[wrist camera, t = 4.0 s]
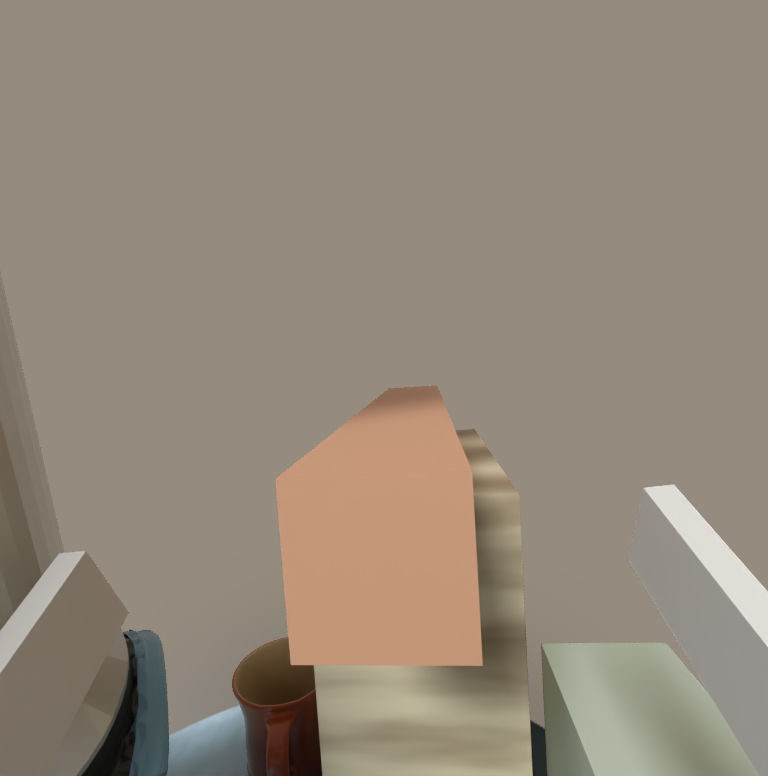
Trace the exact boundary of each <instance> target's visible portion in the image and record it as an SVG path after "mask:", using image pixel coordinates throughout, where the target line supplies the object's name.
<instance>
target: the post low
mask: <svg viewBox="0 0 768 776" xmlns="http://www.w3.org/2000/svg"><path fill="white" fill-rule="evenodd" d="M541 648H542V670H543V693H544V714H545V737H546V758H547V776H759V775H758V773H757V771H756V770H755V768H754V767H753V765H752V763H751V762H750V760H749V758H748V757H747V755H746V753H745V752H744V750H743V748H742V747H741V745H740V744H739V742H738V740H737V739H736V737H735V735H734V734H733V732H732V730H731V729H730V727H729V725H728V724H727V722H726V721H725V719H724V717H723V716H722V714H721V712H720V711H719V709H718V707H717V706H716V704H715V703H714V701H713V699H712V698H711V696H710V695H709V694H708V692H707V691H706V690H705V689H704V688H703V686H702V685H701V684H700V683H699V682H698V681H697V679H696V678H695V677H694V676H693V675H692V674H691V672H690V671H689V670H688V669H687V667H686V666H685V665H684V664H683V663H682V662H681V660H680V659H679V658H678V657H677V656H676V655H675V653H674V652H673V651H672V650H671V649H670V647H669V646H668V645H667V644H666V643H541Z"/></svg>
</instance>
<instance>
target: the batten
mask: <svg viewBox="0 0 768 776" xmlns="http://www.w3.org/2000/svg"><path fill="white" fill-rule="evenodd" d="M276 491H277V503H278V514H279V528H280V540H281V552H282V564H283V576H284V589H285V601H286V612H287V624H288V638H289V650H290V662H291V665H414V666H483V660H482V642H481V624H480V605H479V587H478V568H477V550H476V532H475V513H474V495H473V477H472V469H471V467H470V465H469V462H468V460H467V457H466V455H465V453H464V450H463V448H462V445H461V443H460V440H459V438H458V436H457V433H456V431H455V428H454V426H453V424H452V421H451V419H450V416H449V414H448V412H447V409H446V407H445V404H444V402H443V400H442V397H441V395H440V392H439V390H438V387H437V386H423V387H405V388H389V389H388V390H387V391H385V392H384V393H383V394H382V395H380V396H379V397H378V398H377V399H375V400H374V401H373V402H372V403H370V404H369V405H368V406H367V407H366V408H364V409H363V410H362V411H361V412H359V413H358V414H357V415H355V416H354V417H353V418H352V419H350V420H349V421H348V422H346V423H345V424H344V425H343V426H341V427H340V428H339V429H338V430H337V431H335V432H334V433H333V434H331V435H330V436H329V437H328V438H326V439H325V440H324V441H323V442H321V443H320V444H319V445H318V446H316V448H314V449H313V450H311V451H310V452H309V453H308V454H306V455H305V456H304V457H303V458H301V459H300V460H299V461H298V462H296V463H295V464H294V465H293V466H291V467H290V468H289V469H288V470H286V471H285V472H284V473H282V474H281V475H280V476H279V477H278V478H276Z"/></svg>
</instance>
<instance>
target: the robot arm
mask: <svg viewBox="0 0 768 776" xmlns="http://www.w3.org/2000/svg"><path fill="white" fill-rule="evenodd" d="M628 561H629V563H630V565H631V566H632V568H633V570H634V571H635V573H636V574H637V576H638V578H639V579H640V581H641V582H642V584H643V586H644V588H645V589H646V591H647V593H648V594H649V596H650V597H651V599H652V601H653V602H654V604H655V606H656V607H657V609H658V611H659V612H660V614H661V616H662V617H663V619H664V620H665V622H666V624H667V625H668V627H669V629H670V630H671V632H672V634H673V635H674V637H675V638H676V640H677V642H678V643H679V645H680V647H681V648H682V650H683V652H684V653H685V655H686V657H687V658H688V660H689V661H690V663H691V665H692V666H693V668H694V670H695V671H696V673H697V675H698V676H699V678H700V679H701V681H702V683H703V684H704V686H705V688H706V689H707V691H708V693H709V694H710V696H711V698H712V699H713V701H714V703H715V704H716V706H717V707H718V709H719V711H720V712H721V714H722V716H723V717H724V719H725V721H726V722H727V724H728V725H729V727H730V729H731V730H732V732H733V734H734V735H735V737H736V739H737V740H738V742H739V744H740V745H741V747H742V748H743V750H744V752H745V753H746V755H747V757H748V758H749V760H750V762H751V763H752V765H753V767H754V768H755V770H756V771H757V773H758V775H759V776H768V592H767V590H766V589H765V588H764V587H763V586H762V585H761V584H760V582H759V581H758V580H757V579H756V578H755V577H754V576H753V574H752V573H751V572H750V571H749V570H748V569H747V568H746V566H745V565H744V564H743V563H742V562H741V561H740V560H739V558H738V557H737V556H736V555H735V554H734V553H733V551H731V550H730V548H729V547H728V546H727V545H726V543H725V542H724V541H723V540H722V539H721V538H720V537H719V536H718V534H716V532H715V531H714V530H713V529H712V528H711V526H710V525H709V524H708V523H707V522H706V521H705V520H704V518H703V517H702V516H701V515H700V514H699V513H698V512H697V510H696V509H695V508H694V507H693V506H692V505H691V504H690V502H689V501H688V500H687V499H686V498H685V497H684V496H683V494H682V493H681V492H680V491H679V490H678V489H677V488H676V486H675V485H666V486H657V487H648V488H644V489H643V492H642V497H641V501H640V506H639V510H638V514H637V519H636V523H635V528H634V532H633V536H632V541H631V545H630V550H629V554H628ZM128 613H129V612H128V611H127V609H126V608H125V606H124V605H123V603H122V602H121V600H120V599H119V597H118V596H117V595H116V593H115V592H114V590H113V589H112V587H111V586H110V584H109V583H108V582H107V580H106V579H105V577H104V576H103V574H102V573H101V571H100V570H99V569H98V567H97V566H96V564H95V563H94V561H93V560H92V558H91V557H90V555H89V554H88V553H87V551H79V552H69V553H64V550H63V545H62V541H61V536H60V532H59V527H58V523H57V519H56V514H55V510H54V506H53V501H52V497H51V493H50V488H49V484H48V479H47V475H46V471H45V466H44V462H43V457H42V453H41V448H40V444H39V440H38V436H37V431H36V427H35V422H34V418H33V414H32V409H31V405H30V400H29V396H28V392H27V387H26V383H25V378H24V374H23V369H22V365H21V361H20V356H19V353H18V348H17V343H16V339H15V335H14V330H13V326H12V321H11V317H10V312H9V308H8V304H7V299H6V295H5V291H4V286H3V282H2V278H1V273H0V776H166V774H167V771H168V754H169V730H168V729H169V727H168V701H167V683H166V671H165V661H164V653H163V648H162V643H161V640H160V638H159V636H158V635H157V634H156V633H154V632H152V631H151V630H143V631H139V632H136V631H133V630H129V631H126V632H122V630H121V626H122V624H123V623H124V621H125V619H126V617H127V615H128Z"/></svg>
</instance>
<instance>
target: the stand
mask: <svg viewBox="0 0 768 776" xmlns="http://www.w3.org/2000/svg"><path fill="white" fill-rule="evenodd" d="M455 431H456V433H457V436H458V438H459V440H460V443H461V445H462V448H463V450H464V453H465V455H466V457H467V460H468V462H469V465H470V467H471V469H472V477H473V495H474V513H475V532H476V550H477V568H478V587H479V605H480V624H481V642H482V660H483V666H414V665H314V674H315V687H316V700H317V712H318V725H319V738H320V751H321V763H322V776H533V773H532V752H531V731H530V712H529V711H530V710H529V690H528V670H527V649H526V627H525V607H524V585H523V567H522V566H523V565H522V545H521V523H520V503H519V493H518V491H517V490H516V489H515V487H514V486H513V484H512V483H511V481H510V480H509V478H508V477H507V476H506V474H505V473H504V471H503V470H502V468H501V467H500V466H499V464H498V463H497V461H496V460H495V458H494V457H493V456H492V454H491V452H490V451H489V450H488V448H487V447H486V445H485V444H484V442H483V441H482V440H481V438H480V437H479V435H478V434H477V432H476V431H475V429H471V430H455Z"/></svg>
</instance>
